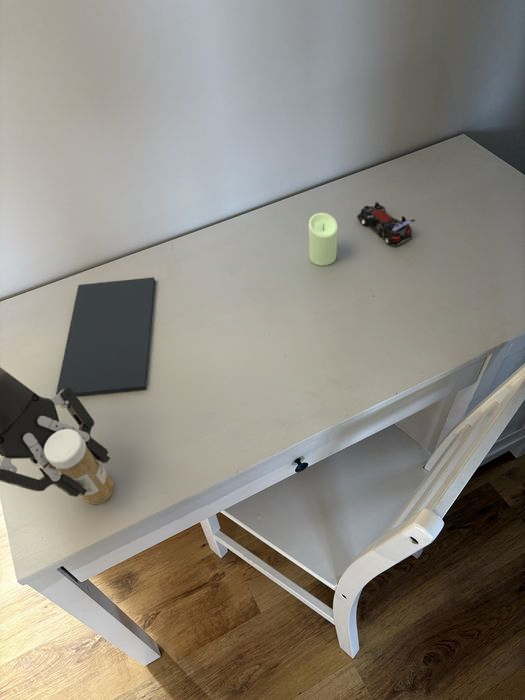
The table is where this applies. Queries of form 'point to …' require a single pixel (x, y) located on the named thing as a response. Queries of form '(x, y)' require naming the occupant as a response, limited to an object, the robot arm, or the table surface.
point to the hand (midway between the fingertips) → (95, 476)
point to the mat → (109, 338)
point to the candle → (322, 239)
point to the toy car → (385, 224)
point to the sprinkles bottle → (78, 464)
